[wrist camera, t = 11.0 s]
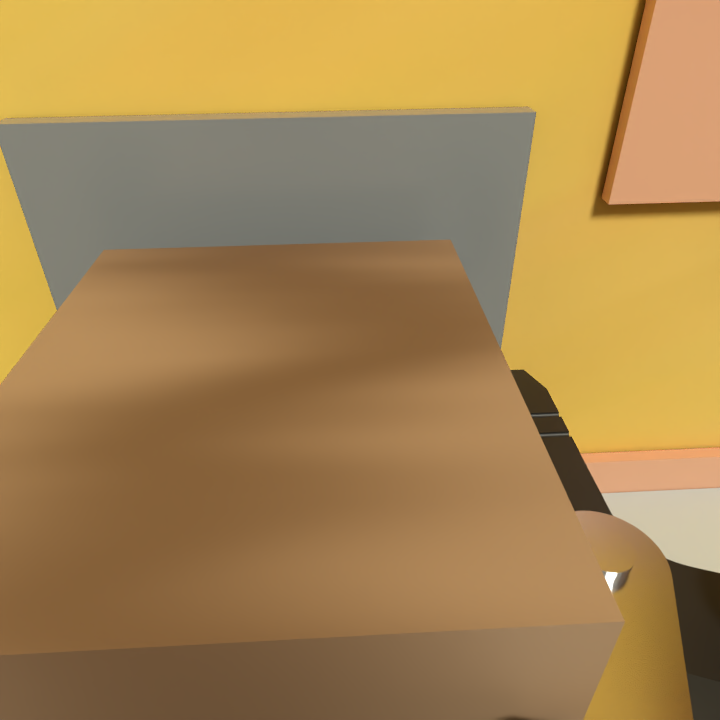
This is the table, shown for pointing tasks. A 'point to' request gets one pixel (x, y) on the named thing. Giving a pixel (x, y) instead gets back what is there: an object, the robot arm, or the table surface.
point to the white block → (675, 522)
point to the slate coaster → (275, 184)
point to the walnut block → (286, 500)
